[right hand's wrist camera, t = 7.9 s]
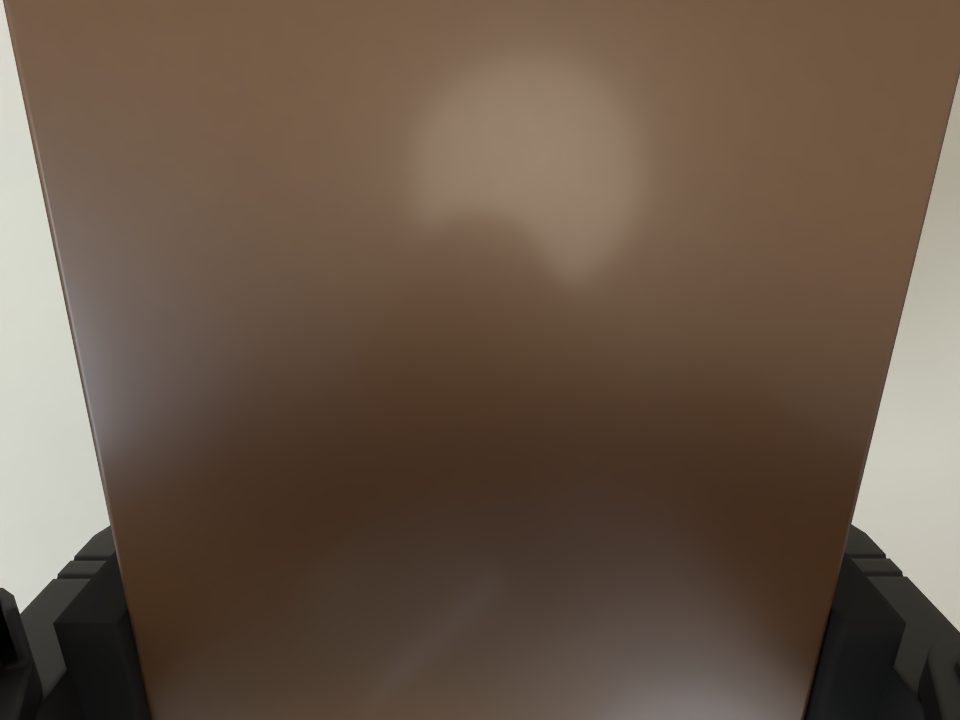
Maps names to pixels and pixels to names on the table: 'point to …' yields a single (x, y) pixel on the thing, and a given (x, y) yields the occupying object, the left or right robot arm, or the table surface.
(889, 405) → the table surface
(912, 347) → the table surface
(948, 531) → the table surface
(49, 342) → the table surface
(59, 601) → the right robot arm
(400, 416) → the slab
